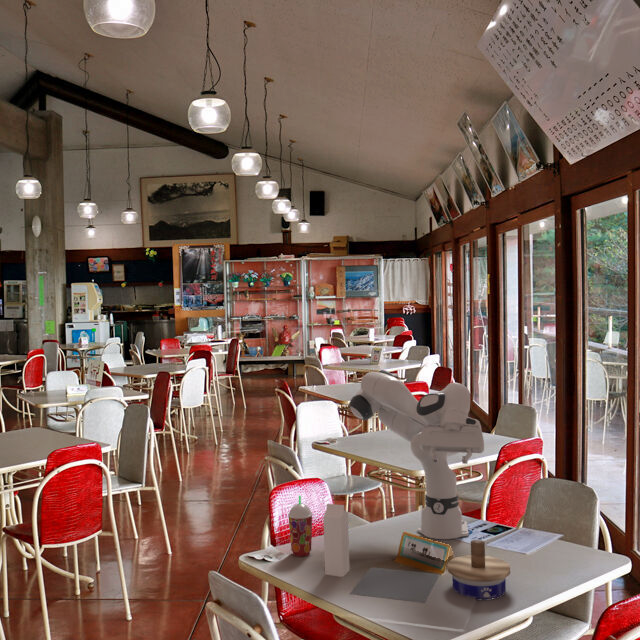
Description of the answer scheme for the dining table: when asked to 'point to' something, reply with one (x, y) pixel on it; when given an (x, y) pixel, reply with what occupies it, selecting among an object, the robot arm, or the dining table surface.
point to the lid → (478, 565)
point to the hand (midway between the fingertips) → (449, 461)
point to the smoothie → (300, 529)
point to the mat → (396, 584)
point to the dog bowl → (479, 588)
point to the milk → (336, 540)
